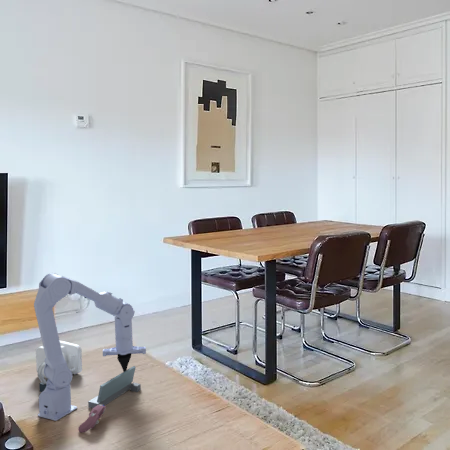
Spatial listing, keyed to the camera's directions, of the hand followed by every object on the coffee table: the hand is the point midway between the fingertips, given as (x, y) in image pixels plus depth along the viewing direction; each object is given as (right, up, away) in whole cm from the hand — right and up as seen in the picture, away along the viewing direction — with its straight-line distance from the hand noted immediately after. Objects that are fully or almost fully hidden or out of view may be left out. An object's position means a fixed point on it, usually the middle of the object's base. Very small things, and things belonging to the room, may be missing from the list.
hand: (125, 374), depth 170 cm
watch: (-27, -7, +2) cm, 28 cm away
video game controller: (-5, -9, -22) cm, 24 cm away
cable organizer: (-28, -5, +16) cm, 33 cm away
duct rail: (-2, -7, -4) cm, 8 cm away
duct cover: (-1, -2, -5) cm, 6 cm away
